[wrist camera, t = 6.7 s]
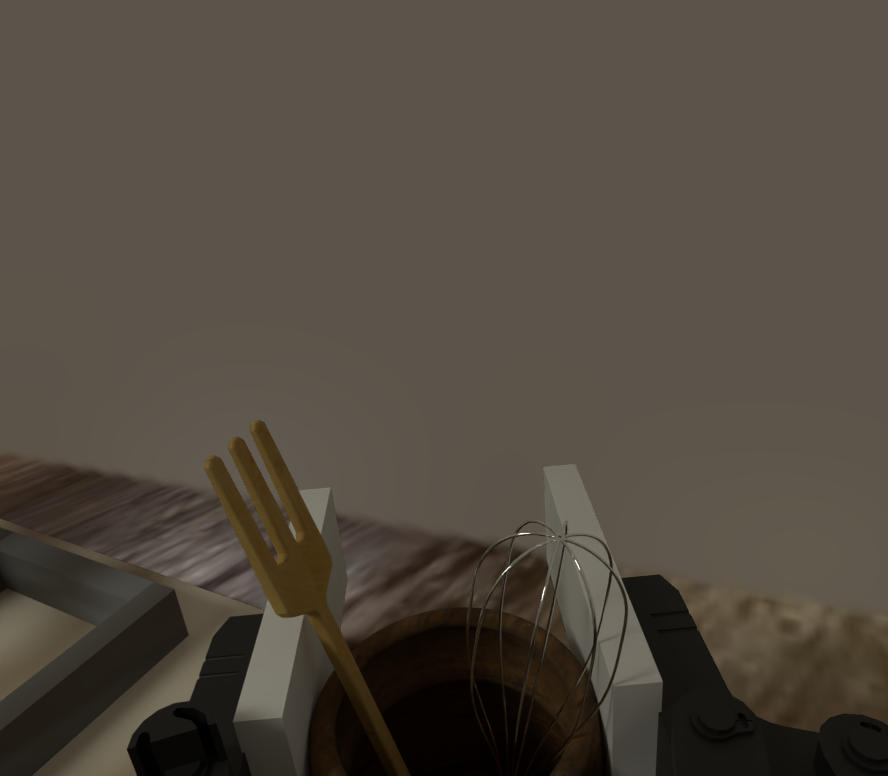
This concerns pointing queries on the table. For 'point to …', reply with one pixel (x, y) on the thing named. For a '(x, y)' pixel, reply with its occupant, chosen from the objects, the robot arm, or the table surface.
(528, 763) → the utensil holder
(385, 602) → the table surface
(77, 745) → the collar board
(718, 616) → the table surface
